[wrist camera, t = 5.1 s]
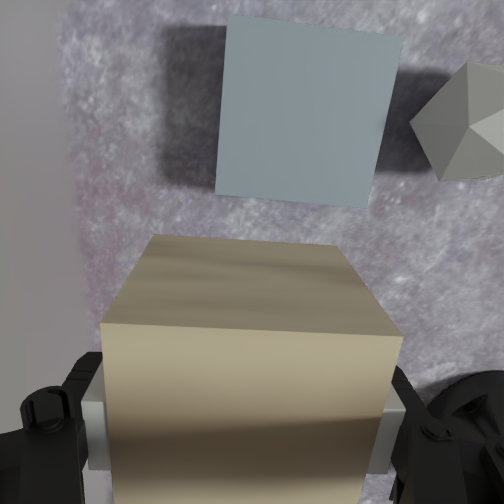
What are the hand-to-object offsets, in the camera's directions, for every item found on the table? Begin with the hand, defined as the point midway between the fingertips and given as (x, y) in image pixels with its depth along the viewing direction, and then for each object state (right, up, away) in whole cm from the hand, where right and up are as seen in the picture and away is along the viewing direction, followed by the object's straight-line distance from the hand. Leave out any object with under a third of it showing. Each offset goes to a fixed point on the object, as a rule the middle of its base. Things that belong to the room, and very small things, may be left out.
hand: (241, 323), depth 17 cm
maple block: (0, 0, 0) cm, 0 cm away
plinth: (+4, +14, +13) cm, 20 cm away
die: (+17, +14, +14) cm, 26 cm away
